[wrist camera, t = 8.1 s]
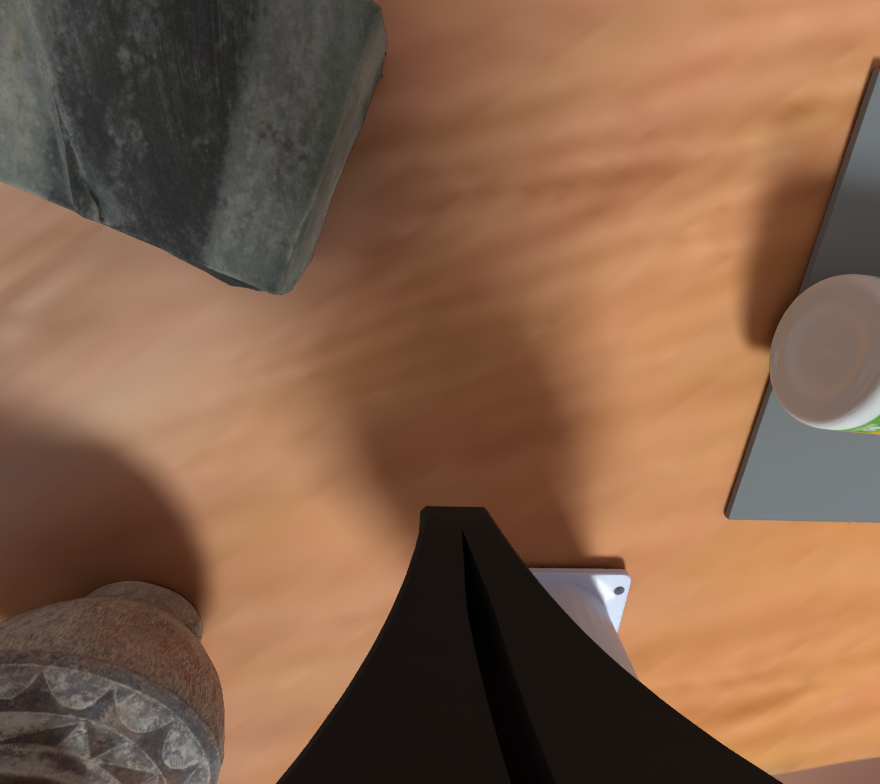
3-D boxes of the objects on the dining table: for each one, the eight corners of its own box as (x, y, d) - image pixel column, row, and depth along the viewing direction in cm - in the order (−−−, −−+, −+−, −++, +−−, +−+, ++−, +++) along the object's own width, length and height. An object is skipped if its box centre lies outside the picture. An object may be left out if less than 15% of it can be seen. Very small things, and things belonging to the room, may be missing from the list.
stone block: (300, 302, 20) (264, 345, 15) (-135, 121, 17) (-358, 100, 12) (391, 50, 17) (385, 0, 12) (-119, -228, 14) (-410, -448, 9)
